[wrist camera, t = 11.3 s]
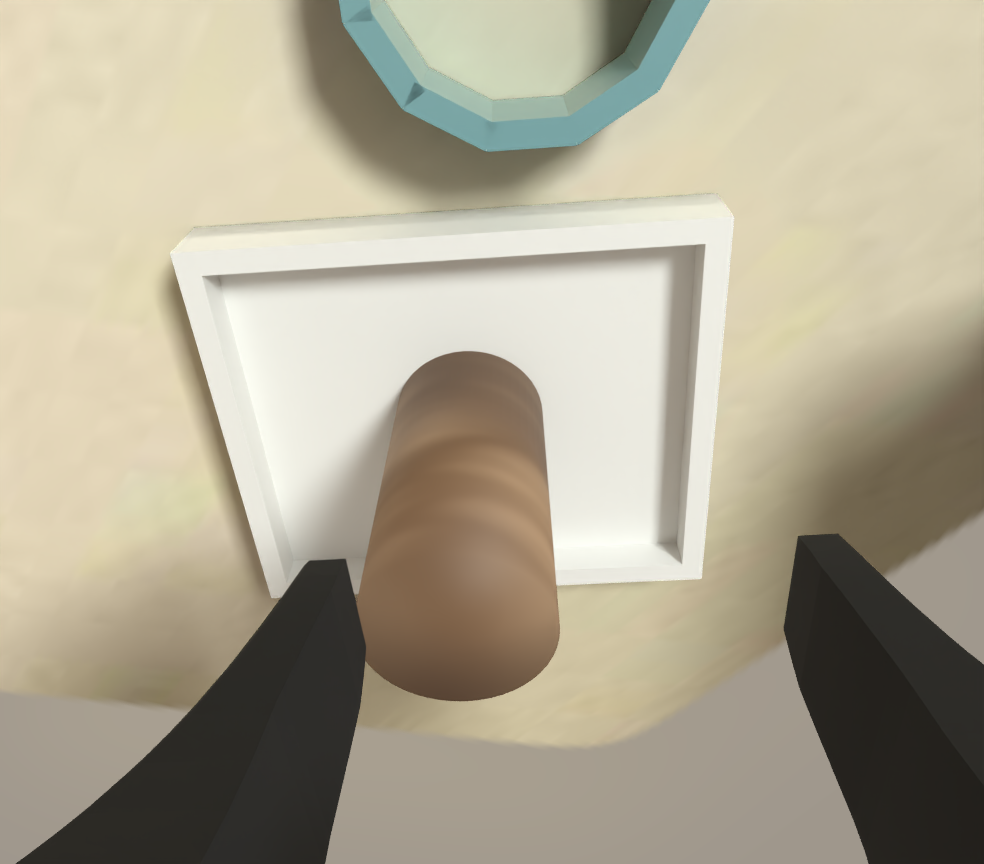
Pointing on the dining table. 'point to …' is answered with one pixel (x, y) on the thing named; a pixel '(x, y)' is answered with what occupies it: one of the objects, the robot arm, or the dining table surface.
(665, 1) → the teal ring
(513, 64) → the dining table surface
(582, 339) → the tray
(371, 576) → the dowel
